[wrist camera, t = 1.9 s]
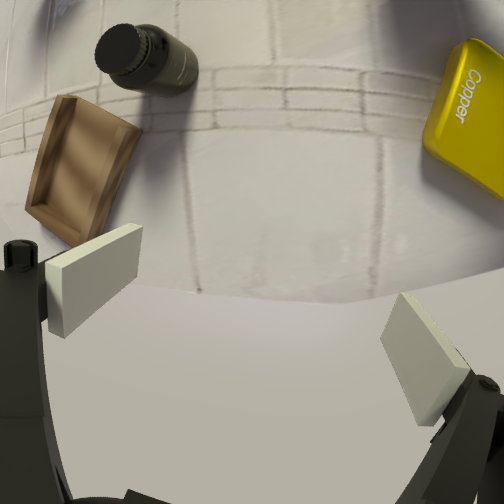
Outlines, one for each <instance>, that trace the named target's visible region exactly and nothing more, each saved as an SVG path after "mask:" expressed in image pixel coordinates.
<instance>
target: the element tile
mask: <svg viewBox="0 0 504 504" xmlns="http://www.w3.org/2000/svg"><path fill="white" fill-rule="evenodd" d="M422 142H423V145H424V148H425V149H426V150H427V152H428V153H429V154H430V155H432V156H433V157H435V158H436V159H438V160H440V161H441V162H443V163H445V164H446V165H448V166H450V167H451V168H453V169H454V170H456V171H458V172H459V173H461V174H462V175H464V176H465V177H467V178H468V179H470V180H472V181H473V182H475V183H476V184H477V185H479V186H480V187H482V188H483V189H485V190H486V191H488V192H489V193H491V194H492V195H493V196H495V197H496V198H498V199H499V200H501V201H504V57H503V56H502V55H500V54H499V53H498V52H496V51H495V50H494V49H492V48H491V47H490V46H488V45H487V44H485V43H484V42H483V41H481V40H479V39H475V38H470V39H467V40H465V41H463V42H462V43H460V44H458V45H456V46H455V47H454V48H453V49H452V50H451V52H450V55H449V58H448V62H447V65H446V68H445V71H444V74H443V77H442V80H441V83H440V86H439V89H438V92H437V95H436V98H435V100H434V103H433V106H432V109H431V111H430V114H429V117H428V119H427V122H426V125H425V127H424V130H423V134H422Z"/></svg>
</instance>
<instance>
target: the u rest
mask: <svg viewBox="0 0 504 504" xmlns="http://www.w3.org/2000/svg"><path fill="white" fill-rule="evenodd" d="M142 132H143V130H141V129H139V128H137V127H135V126H134V125H132V124H130V123H128V122H126V121H124V120H122V119H120V118H118V117H117V116H115V115H113V114H111V113H109V112H107V111H105V110H103V109H101V108H99V107H97V106H95V105H93V104H91V103H89V102H87V101H85V100H83V99H81V98H79V97H77V96H73V95H57V97H56V100H55V102H54V105H53V108H52V111H51V113H50V116H49V119H48V122H47V125H46V128H45V131H44V134H43V138H42V141H41V144H40V148H39V151H38V155H37V158H36V162H35V166H34V170H33V174H32V178H31V182H30V187H29V191H28V196H27V200H26V205H25V211H27V212H28V213H29V214H30V215H31V216H33V217H34V218H35V219H36V220H38V221H39V222H40V223H41V224H43V225H44V226H45V227H46V228H48V229H49V230H50V231H51V232H53V233H54V234H55V235H56V236H58V237H59V238H60V239H62V240H63V241H64V242H65V243H67V244H68V245H69V246H71V247H72V248H75V247H77V246H79V245H82V244H84V243H86V242H88V241H90V240H92V239H95V238H97V237H99V236H101V235H102V232H103V229H104V226H105V224H106V221H107V218H108V215H109V212H110V209H111V207H112V204H113V201H114V199H115V196H116V193H117V191H118V188H119V186H120V183H121V181H122V178H123V176H124V173H125V171H126V168H127V166H128V163H129V161H130V159H131V156H132V154H133V152H134V149H135V147H136V145H137V143H138V140H139V138H140V136H141V134H142Z"/></svg>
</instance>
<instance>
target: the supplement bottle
mask: <svg viewBox="0 0 504 504" xmlns="http://www.w3.org/2000/svg"><path fill="white" fill-rule="evenodd" d="M94 55H95V61H96V64H97V67H98V68H100V70H101V71H103V72H104V73H107V74H109V76H110V78H111V79H112V81H113V82H114V83H115V84H116V85H118V86H119V87H121V88H124V89H127V90H132V91H136V92H141V93H145V94H150V95H154V96H158V97H165V98H168V97H174V96H177V95H179V94H181V93H183V92H184V91H186V90H187V89H188V88H189V87H190V86H191V85H192V83H193V82H194V80H195V78H196V75H197V72H198V61H197V58H196V55H195V54H194V52H193V51H192V50H191V49H190V48H189V47H188V46H186V45H185V44H183V43H182V42H181V41H179V40H178V39H176V38H175V37H173V36H172V35H170V34H169V33H167V32H166V31H164V30H163V29H161V28H159V27H157V26H154V25H150V24H142V25H137V26H134V25H132V24H128V23H126V24H123V23H122V24H117V25H116V26H113V27H112V28H110V29H108V31H106V32H105V33H104V35H102V36H101V39H100V40H99V41H98V44H97V46H96V49H95V54H94Z"/></svg>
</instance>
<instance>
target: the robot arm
mask: <svg viewBox="0 0 504 504" xmlns="http://www.w3.org/2000/svg"><path fill="white" fill-rule="evenodd" d="M142 230H143V226H140V225H136V224H133V223H128V224H126V225H124V226H121V227H119V228H117V229H114V230H112V231H110V232H108V233H106V234H103V235H101V236H99V237H97V238H95V239H92V240H90V241H88V242H86V243H84V244H82V245H79V246H77V247H75V248H73V249H71V250H66V251H63V252H61V253H59V254H57V255H55V256H52V257H51V258H48V259H46V260H44V261H42V262H40V263H38V246H37V244H36V243H35V242H33V241H29V240H13V241H9V242H7V243H6V244H5V245H4V265H5V269H4V271H3V270H0V504H170V503H167V502H164V501H161V500H158V499H155V498H152V497H149V496H146V495H143V494H141V493H138V492H135V491H133V490H130V489H128V490H127V492H126V495H125V497H124V499H119V498H110V497H87V498H79V499H74V500H73V497H72V494H71V492H70V489H69V486H68V483H67V480H66V477H65V473H64V469H63V466H62V462H61V458H60V454H59V450H58V445H57V441H56V436H55V431H54V426H53V421H52V415H51V410H50V403H49V397H48V390H47V383H46V374H45V365H44V354H43V341H42V327H41V322H42V321H44V320H45V319H47V318H48V329H49V332H51V333H53V334H55V335H57V336H59V337H62V338H64V339H65V338H66V337H67V336H68V335H69V334H70V333H72V332H73V331H74V330H75V329H76V328H77V327H78V326H80V325H81V324H82V323H83V322H84V321H85V320H86V319H87V318H89V317H90V316H91V315H92V314H93V313H95V312H96V311H97V310H98V309H99V308H100V307H102V306H103V305H104V304H105V303H106V302H107V301H109V300H110V299H111V298H112V297H113V296H114V295H115V294H117V293H118V292H119V291H121V290H122V289H123V288H124V287H125V286H127V285H128V284H129V283H130V282H131V281H133V280H134V279H135V278H136V277H137V271H138V262H139V254H140V246H141V238H142ZM380 339H381V341H382V344H383V346H384V348H385V350H386V352H387V354H388V357H389V359H390V361H391V363H392V366H393V368H394V370H395V372H396V375H397V377H398V379H399V382H400V384H401V386H402V389H403V391H404V393H405V396H406V398H407V400H408V403H409V405H410V407H411V410H412V412H413V415H414V417H415V420H416V422H417V425H418V426H434V425H435V423H436V422H437V421H438V419H439V418H440V416H441V415H443V417H444V419H445V422H444V424H443V425H442V426H441V428H440V429H439V430H438V432H437V433H436V435H435V436H434V437H433V439H432V440H431V441H430V443H432V445H431V446H430V448H429V450H428V452H427V454H426V455H425V457H424V459H423V461H422V462H421V464H420V466H419V467H418V469H417V471H416V473H415V474H414V476H413V477H412V479H411V481H410V482H409V484H408V485H407V487H406V488H405V490H404V491H403V493H402V495H401V496H400V497H399V499H398V500H397V502H396V503H395V504H473V503H474V500H475V497H476V494H477V504H504V395H502V394H500V388H499V386H498V384H497V383H496V382H494V381H493V380H492V379H491V378H489V377H486V376H484V375H476V374H475V373H474V372H473V370H472V369H471V368H470V366H469V365H468V363H466V361H465V359H464V358H463V357H462V355H461V354H460V353H459V352H458V350H457V349H456V348H455V347H454V346H453V345H452V343H451V342H450V341H449V339H448V338H447V337H446V336H445V334H444V333H443V332H442V331H441V329H440V328H439V327H438V326H437V324H436V323H435V322H434V320H433V319H432V318H431V317H430V316H429V314H428V313H427V312H426V311H425V310H424V308H423V307H422V306H421V305H420V303H419V302H418V301H417V300H416V299H415V298H414V296H413V295H411V294H407V293H403V292H399V295H398V297H397V300H396V303H395V305H394V307H393V310H392V312H391V315H390V317H389V319H388V322H387V324H386V326H385V329H384V331H383V333H382V335H381V338H380ZM477 492H478V493H477Z"/></svg>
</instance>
